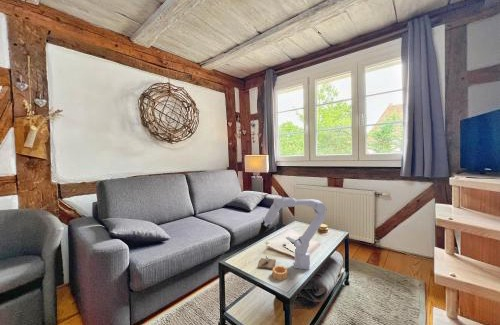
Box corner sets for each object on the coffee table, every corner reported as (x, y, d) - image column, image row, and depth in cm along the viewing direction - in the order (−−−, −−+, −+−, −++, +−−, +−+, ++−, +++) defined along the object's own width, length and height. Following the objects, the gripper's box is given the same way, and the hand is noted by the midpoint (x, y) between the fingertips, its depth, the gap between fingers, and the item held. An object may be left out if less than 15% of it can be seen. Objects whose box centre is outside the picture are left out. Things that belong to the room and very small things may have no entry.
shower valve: (292, 235, 170) (306, 242, 157) (292, 241, 170) (306, 249, 158) (280, 238, 164) (293, 246, 151) (280, 245, 164) (293, 253, 151)
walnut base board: (275, 261, 141) (275, 259, 141) (274, 269, 131) (274, 267, 131) (261, 259, 143) (261, 258, 143) (258, 268, 133) (258, 266, 133)
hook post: (269, 262, 138) (268, 256, 137) (268, 263, 136) (268, 257, 135) (266, 261, 138) (265, 255, 138) (265, 263, 136) (265, 257, 136)
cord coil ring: (287, 272, 128) (287, 266, 128) (286, 280, 120) (286, 274, 120) (273, 270, 130) (273, 265, 130) (272, 278, 122) (272, 273, 122)
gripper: (267, 209, 140) (257, 226, 141) (264, 213, 126) (253, 232, 127) (276, 214, 139) (266, 232, 140) (274, 219, 125) (263, 238, 125)
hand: (260, 232), depth 133 cm, fingers open, 7 cm apart
